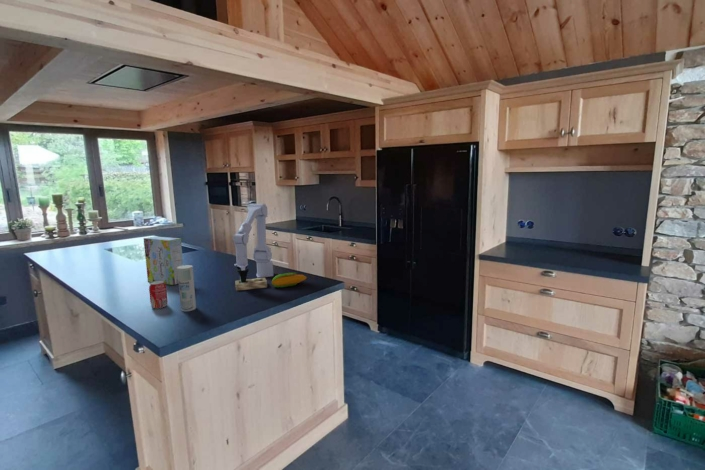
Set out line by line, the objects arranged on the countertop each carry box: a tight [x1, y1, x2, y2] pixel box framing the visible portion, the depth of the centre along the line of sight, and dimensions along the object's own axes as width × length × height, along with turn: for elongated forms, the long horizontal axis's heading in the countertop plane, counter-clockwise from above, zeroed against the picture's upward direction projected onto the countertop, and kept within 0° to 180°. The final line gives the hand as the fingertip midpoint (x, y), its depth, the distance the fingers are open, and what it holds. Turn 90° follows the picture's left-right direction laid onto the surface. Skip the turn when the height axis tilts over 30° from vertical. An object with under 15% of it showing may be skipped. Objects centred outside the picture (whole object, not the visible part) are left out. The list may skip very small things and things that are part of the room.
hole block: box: [234, 277, 268, 291], centre depth 203 cm, size 16×8×4 cm, turn 110°
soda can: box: [148, 280, 168, 310], centre depth 174 cm, size 7×7×12 cm
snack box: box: [143, 236, 184, 286], centre depth 213 cm, size 22×9×26 cm, turn 65°
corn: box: [270, 272, 307, 288], centre depth 205 cm, size 7×8×20 cm
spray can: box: [177, 264, 197, 312], centre depth 170 cm, size 6×6×20 cm
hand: (243, 280), depth 201 cm, fingers open, 7 cm apart
